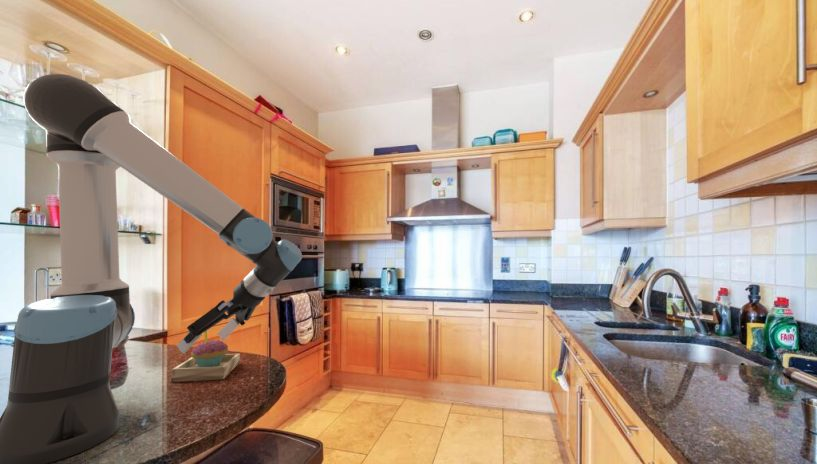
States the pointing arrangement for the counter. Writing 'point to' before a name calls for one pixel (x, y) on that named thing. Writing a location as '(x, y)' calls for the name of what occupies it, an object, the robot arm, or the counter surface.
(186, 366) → the maple box
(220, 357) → the cupcake
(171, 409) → the counter surface
